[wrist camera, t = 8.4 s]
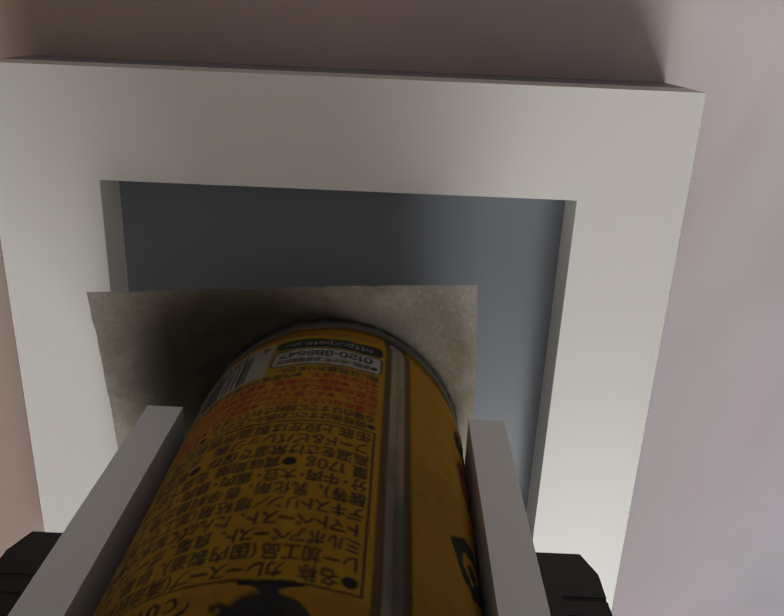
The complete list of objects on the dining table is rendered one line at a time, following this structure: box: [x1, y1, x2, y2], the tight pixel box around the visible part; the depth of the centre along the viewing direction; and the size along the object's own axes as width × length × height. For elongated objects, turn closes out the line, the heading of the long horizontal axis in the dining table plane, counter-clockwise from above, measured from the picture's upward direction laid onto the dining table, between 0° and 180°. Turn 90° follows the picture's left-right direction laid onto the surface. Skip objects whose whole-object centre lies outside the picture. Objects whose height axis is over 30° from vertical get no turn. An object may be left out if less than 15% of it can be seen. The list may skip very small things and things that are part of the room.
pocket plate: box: [0, 56, 706, 610], centre depth 21 cm, size 16×16×3 cm
